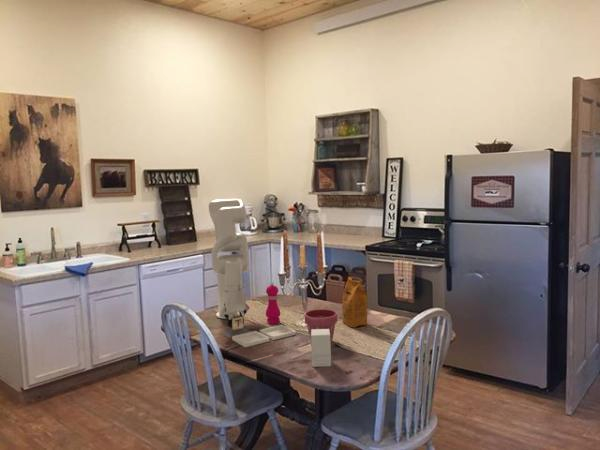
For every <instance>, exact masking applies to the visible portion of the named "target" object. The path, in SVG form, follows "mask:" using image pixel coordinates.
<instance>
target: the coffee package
mask: <svg viewBox="0 0 600 450" xmlns="http://www.w3.org/2000/svg"><path fill="white" fill-rule="evenodd" d="M362 284H363V281H361V280H355V279H354V280H353V278H352V277H351V276H348V277H347V280H346V283H345V286H344V287H345V288H344V290H343V294H342V304H341V312H342V315H341V316H342V317H341V318H342V323H343V324H345V325H346V326H348V327H350V328H357V327H360V326H364V325H365V326H366V325H367V324H368V295H367V293H366V291H365V289H364V287H363V286H362Z"/></svg>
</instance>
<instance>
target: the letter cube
mask: <svg viewBox="0 0 600 450" xmlns="http://www.w3.org/2000/svg"><path fill="white" fill-rule="evenodd" d="M231 319H232V328H230V327H228V328H230V330H231V329H233V330H235V329H240V328H243V327H244V323H243V317H241V316H239V315H234V316H231Z"/></svg>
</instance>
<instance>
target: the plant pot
mask: <svg viewBox="0 0 600 450" xmlns="http://www.w3.org/2000/svg"><path fill="white" fill-rule="evenodd" d="M304 323H305V325H306V326H307V330H308V335H309V339H310V340H311V329H329V331H330V344H332V343H333V340H334V339H333V338H334V335H335V327H336V324H337V323H338V312H337V311H336V310H334V309H330V308H329V309H327V308H326V309H325V308H316V309H311V310H307V311H306V312H305V313H304Z"/></svg>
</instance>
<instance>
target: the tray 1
mask: <svg viewBox="0 0 600 450" xmlns="http://www.w3.org/2000/svg"><path fill="white" fill-rule="evenodd" d="M231 340H232V341H233V342H235V343H237V344H239V345H240V346H242V347H244V348H249V347H251V346H257V345H259V344H264V343H267V342H270V338H269V337H267V336H265V335H263V334H261V333H260V331H257V330H253V331H252V332H249V333H244V334H240V335H236V336H232V338H231Z"/></svg>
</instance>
